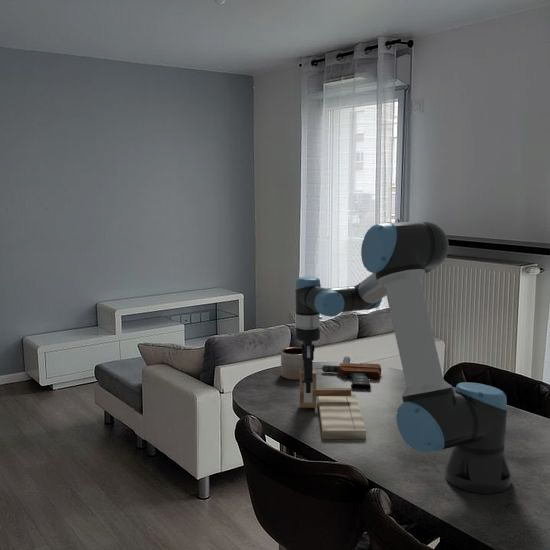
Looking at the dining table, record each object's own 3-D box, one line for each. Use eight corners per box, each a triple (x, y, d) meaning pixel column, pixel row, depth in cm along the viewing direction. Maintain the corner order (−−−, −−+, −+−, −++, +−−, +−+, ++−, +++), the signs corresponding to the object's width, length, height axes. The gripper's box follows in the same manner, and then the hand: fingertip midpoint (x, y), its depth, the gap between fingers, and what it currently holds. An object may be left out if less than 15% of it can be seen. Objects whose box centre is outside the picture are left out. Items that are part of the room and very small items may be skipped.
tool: (379, 383, 220) (382, 355, 249) (301, 379, 225) (312, 352, 254) (379, 394, 221) (381, 365, 249) (301, 390, 226) (312, 362, 254)
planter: (278, 379, 233) (278, 354, 232) (283, 371, 244) (283, 346, 242) (308, 381, 232) (308, 355, 230) (311, 372, 242) (311, 347, 241)
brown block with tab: (351, 407, 200) (351, 373, 199) (300, 407, 201) (300, 373, 199) (349, 401, 206) (350, 367, 205) (299, 401, 207) (299, 367, 205)
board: (365, 439, 180) (366, 430, 180) (322, 438, 180) (322, 430, 180) (355, 402, 210) (355, 394, 209) (318, 402, 210) (318, 394, 209)
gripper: (321, 334, 191) (321, 409, 194) (318, 320, 209) (318, 388, 213) (296, 334, 191) (296, 409, 194) (295, 320, 209) (295, 388, 213)
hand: (307, 398), depth 203 cm, fingers closed on brown block with tab, 6 cm apart
